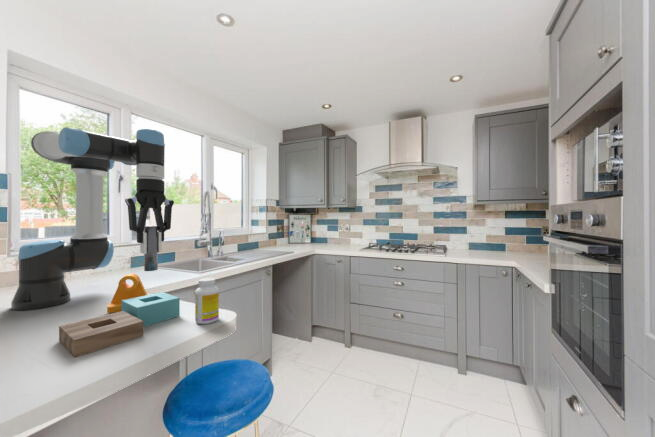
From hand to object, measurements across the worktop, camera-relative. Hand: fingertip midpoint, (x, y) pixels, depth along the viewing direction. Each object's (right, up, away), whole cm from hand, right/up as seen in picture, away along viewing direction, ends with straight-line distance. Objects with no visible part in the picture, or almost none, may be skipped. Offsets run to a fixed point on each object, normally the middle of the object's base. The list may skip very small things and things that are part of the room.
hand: (150, 252), depth 87 cm
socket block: (-3, -21, -15) cm, 26 cm away
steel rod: (0, -6, 0) cm, 6 cm away
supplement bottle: (+19, -21, -2) cm, 29 cm away
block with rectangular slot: (0, -21, 0) cm, 21 cm away
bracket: (-13, -21, +8) cm, 26 cm away
